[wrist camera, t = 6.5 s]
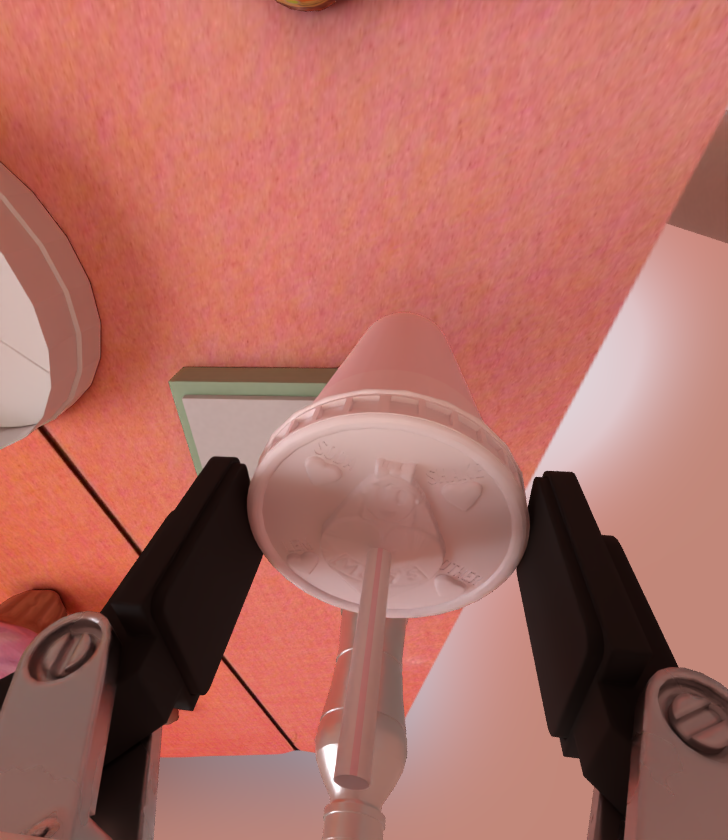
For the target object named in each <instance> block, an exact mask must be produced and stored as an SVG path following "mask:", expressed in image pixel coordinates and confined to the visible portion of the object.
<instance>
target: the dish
mask: <svg viewBox="0 0 728 840" xmlns="http://www.w3.org/2000/svg"><path fill="white" fill-rule="evenodd" d="M99 360H100V319H99V315H98V311H97V308H96V304H95V300H94V296H93V292H92V289H91V285H90V282H89V280H88V278H87V276H86V274H85V272H84V270H83V268H82V266H81V264H80V262H79V260H78V258H77V256H76V254H75V252H74V250H73V248H72V246H71V244H70V243H69V241H68V239H67V237H66V236H65V234H64V233H63V232H62V230H61V229H60V228H59V226H58V225H57V224H56V222H55V221H54V220H53V219H52V217H51V216H50V215H49V213H48V212H47V211H46V209H45V208H44V207H43V205H42V204H41V203H40V201H39V200H38V199H37V198H36V196H35V195H34V194H33V192H32V191H31V190H30V189H28V188H27V187H26V186H25V185H24V184H23V183H22V182H21V181H20V180H19V179H18V178H17V177H16V176H15V175H13V174H12V173H11V172H10V171H9V170H8V169H7V168H6V167H5V166H4V165H3V164H2V163H1V162H0V449H2V448H5V447H7V446H9V445H11V444H13V443H15V442H17V441H19V440H21V439H23V438H25V437H27V436H28V435H29V434H30V433H32V432H33V431H34V430H36V429H37V428H38V427H40V426H42V425H44V424H46V423H48V422H50V421H52V420H54V419H56V418H57V417H58V416H59V415H60V414H61V413H63V412H64V411H65V410H67V409H68V408H69V407H71V406H72V405H73V404H74V403H75V402H76V401H77V400H78V399H79V398H80V397H81V395H82V394H83V393H84V392H85V391H86V390H87V389H88V388H89V387H90V385H91V384H92V381H93V378H94V375H95V372H96V369H97V366H98V363H99Z"/></svg>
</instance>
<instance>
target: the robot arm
mask: <svg viewBox="0 0 728 840" xmlns="http://www.w3.org/2000/svg"><path fill="white" fill-rule="evenodd" d="M249 486H250V478H249V473H248V469H247V466H246V465H245V464H244V463H240V460H239V459H238V458H237V457H223V456H213V457H211V458H210V459H209V461H208V462H207V464H206V465H205V467H204V468H203V469H202V471H201V472H200V474H199V475H198V477H197V478H196V480H195V481H194V483H193V484H192V485H191V487H190V488H189V490H188V491H187V493H186V494H185V496H184V497H183V498H182V500H181V501H180V503H179V504H178V506H177V507H176V509H175V510H174V511H172V512H171V513H170V514H169V515H168V516H167V518H166V519H165V520H164V522H163V523H162V525H161V526H160V528H159V529H158V530H157V532H156V533H155V535H154V536H153V538H152V539H151V540H150V542H149V543H148V545H147V546H146V548H145V549H144V551H143V552H142V553H141V555H140V556H139V558H138V559H137V561H136V562H135V563H134V565H133V566H132V568H131V569H130V571H129V572H128V573H127V575H126V576H125V578H124V579H123V581H122V582H121V584H120V585H119V586H118V588H117V589H116V591H115V592H114V594H113V595H112V596H111V598H110V599H109V601H108V602H107V604H106V605H105V606H104V608H103V609H102V611H101V612H100V613H99V612H92V611H85V612H78V613H74V614H71V615H69V616H66V617H63V618H61V619H59V620H58V621H56V622H54V623H53V624H51V625H49V626H48V627H47V628H45V629H44V630H43V631H42V632H40V633H39V634H38V635H37V636H36V637H35V638H34V639H33V640H32V642H31V643H30V644H29V645H28V646H27V647H26V649H25V651H24V652H23V654H22V656H21V658H20V660H19V662H18V665H17V668H16V670H15V672H13V673H11V674H9V675H7V676H6V677H4V678H2V679H0V840H153V838H154V825H155V812H156V800H157V787H158V774H159V761H160V749H161V736H162V726H163V725H164V724H166V723H167V721H168V719H169V717H170V715H171V713H172V710H173V709H182V710H190V711H193V710H194V708H195V705H196V703H197V700H198V698H199V696H200V695H205V694H206V693H207V692H208V690H209V688H210V686H211V684H212V681H213V679H214V676H215V674H216V671H217V669H218V666H219V664H220V661H221V659H222V656H223V654H224V651H225V649H226V646H227V644H228V642H229V639H230V637H231V634H232V632H233V629H234V627H235V624H236V622H237V619H238V617H239V614H240V612H241V609H242V607H243V604H244V602H245V599H246V597H247V594H248V592H249V589H250V587H251V584H252V582H253V579H254V577H255V574H256V572H257V569H258V567H259V564H260V562H261V559H262V556H263V552H262V551H261V549H260V548H259V546H258V544H257V542H256V540H255V538H254V536H253V533H252V531H251V528H250V524H249V520H248V513H247V496H248V489H249ZM528 512H529V521H530V530H529V538H528V543H527V547H526V550H525V552H524V555H523V557H522V559H521V561H520V563H519V564H518V566H517V577H518V581H519V587H520V592H521V597H522V602H523V607H524V612H525V617H526V622H527V627H528V631H529V636H530V642H531V647H532V652H533V656H534V661H535V666H536V671H537V676H538V681H539V686H540V691H541V696H542V701H543V706H544V711H545V716H546V721H547V726H548V730H549V732H550V734H551V736H553V737H559V738H560V742H561V747H562V751H563V756H565V757H572V758H579V759H580V763H581V767H582V772H583V776H584V777H585V778H586V779H587V780H588V781H589V782H590V783H591V784H592V785H593V786H594V791H593V799H592V806H591V813H590V821H589V828H588V836H587V840H728V689H727V688H726V687H724V686H723V685H722V684H721V683H719V682H717V681H716V680H714V679H712V678H710V677H708V676H706V675H704V674H702V673H700V672H697V671H693V670H690V669H686V668H679V667H678V665H677V663H676V661H675V659H674V657H673V654H672V652H671V650H670V648H669V646H668V644H667V642H666V640H665V638H664V635H663V633H662V631H661V629H660V627H659V625H658V623H657V621H656V619H655V617H654V615H653V612H652V610H651V608H650V606H649V604H648V602H647V600H646V597H645V595H644V593H643V591H642V589H641V587H640V585H639V583H638V581H637V579H636V576H635V574H634V572H633V570H632V568H631V566H630V564H629V561H628V559H627V557H626V555H625V553H624V551H623V549H622V547H621V545H620V543H619V542H618V540H617V539H616V538H615V537H614V536H607V535H601V533H600V530H599V528H598V526H597V523H596V521H595V519H594V517H593V514H592V512H591V510H590V507H589V505H588V503H587V500H586V498H585V496H584V494H583V491H582V489H581V487H580V484H579V482H578V480H577V478H576V476H575V474H574V473H573V472H559V471H545V472H544V474H543V476H542V477H535V479H534V481H533V485H532V490H531V495H530V500H529V505H528Z"/></svg>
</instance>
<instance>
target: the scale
mask: <svg viewBox="0 0 728 840" xmlns="http://www.w3.org/2000/svg"><path fill="white" fill-rule="evenodd" d="M337 370H338V368H248V367H183V368H182V369H181V370H180V371H179V372H178V373H177V374H176V375H174V376H173V377H172V378H171V379H170V380H169V381H168V382H169V386H170V389H171V392H172V395H173V399H174V402H175V405H176V408H177V411H178V415H179V418H180V421H181V424H182V428H183V431H184V434H185V437H186V441H187V444H188V447H189V450H190V453H191V457H192V460H193V463H194V466H195V470H196V473H197V476H198V475H199V474H200V472H201V471H202V469H203V468H204V467H205V465H206V464H207V462H208V461H209V459H210V458H211V457H213V456H223V457H237V458H238V459H239V460H240V463H244V464H245V465H246V466H247V469H248V473H249V478H250V482H251V479H252V477H253V475H254V472H255V470H256V468H257V467H258V462H259V458H260V456H261V454H262V452H263V450H264V448H265V446H266V445H267V443H268V441H269V439H270V437H271V435H272V433H274V432H275V431H276V430H277V429H278V428H279V427H280V426H281V425H282V424H283V423H284V422H285V421H286V420H287V419H288V418H289V417H290V416H291V415H292V414H293V413H295V412H296V411H298V410H300V409H302V408H304V407H306V406H308V405H310V404H312V403H313V401H314V400H315V399H316V398H317V397H318V395H319V394H320V393H321V391H322V390H323V388H324V387H325V386H326V384H327V383H328V382H329V380H330V379H331V378H332V376H333V375H334V374H335V372H336V371H337Z"/></svg>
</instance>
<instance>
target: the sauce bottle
mask: <svg viewBox="0 0 728 840" xmlns="http://www.w3.org/2000/svg"><path fill="white" fill-rule="evenodd" d="M276 1H277V2H278V3H280V4H282V5H284V6H287V7H288V8H290V9H294V10H300V11H314V10H316V11H320V10H323V9H325V8H327V7H328V6H330V5H331V4H333V3H335V1H337V0H276Z"/></svg>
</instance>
